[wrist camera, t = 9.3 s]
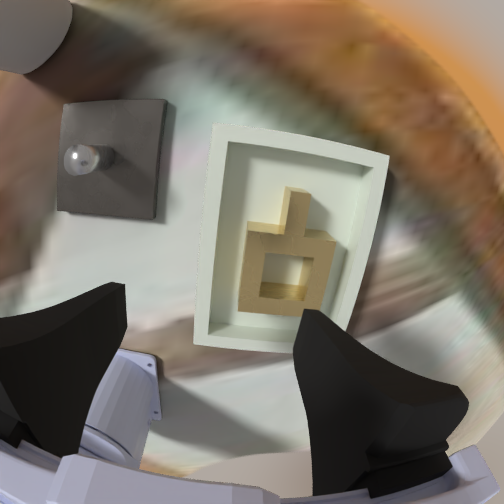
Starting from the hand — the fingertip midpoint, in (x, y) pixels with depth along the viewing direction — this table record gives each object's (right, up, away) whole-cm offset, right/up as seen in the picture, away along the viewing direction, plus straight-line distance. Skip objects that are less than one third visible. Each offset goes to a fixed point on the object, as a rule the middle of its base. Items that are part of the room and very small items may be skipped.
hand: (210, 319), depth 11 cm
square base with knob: (-8, +9, +6) cm, 14 cm away
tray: (+4, +3, +9) cm, 10 cm away
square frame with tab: (+4, +3, +9) cm, 10 cm away
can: (-16, +21, +2) cm, 26 cm away
